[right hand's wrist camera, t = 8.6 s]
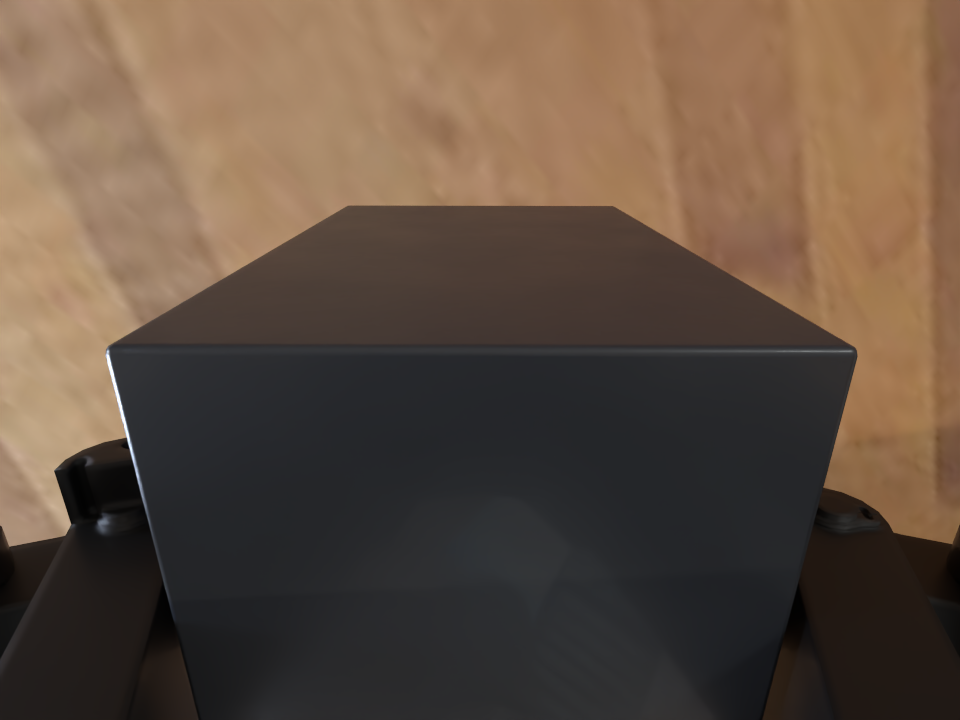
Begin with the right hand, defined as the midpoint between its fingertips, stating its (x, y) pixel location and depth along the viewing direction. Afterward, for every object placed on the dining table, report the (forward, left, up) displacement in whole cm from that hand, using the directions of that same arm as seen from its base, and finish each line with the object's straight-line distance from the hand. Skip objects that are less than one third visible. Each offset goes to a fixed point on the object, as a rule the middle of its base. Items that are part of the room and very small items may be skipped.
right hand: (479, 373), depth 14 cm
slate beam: (0, -14, 0) cm, 14 cm away
